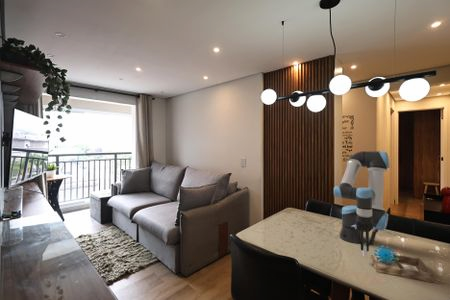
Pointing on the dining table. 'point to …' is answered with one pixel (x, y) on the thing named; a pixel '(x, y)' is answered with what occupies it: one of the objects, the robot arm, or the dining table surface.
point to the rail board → (404, 268)
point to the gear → (386, 255)
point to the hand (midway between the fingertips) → (364, 256)
